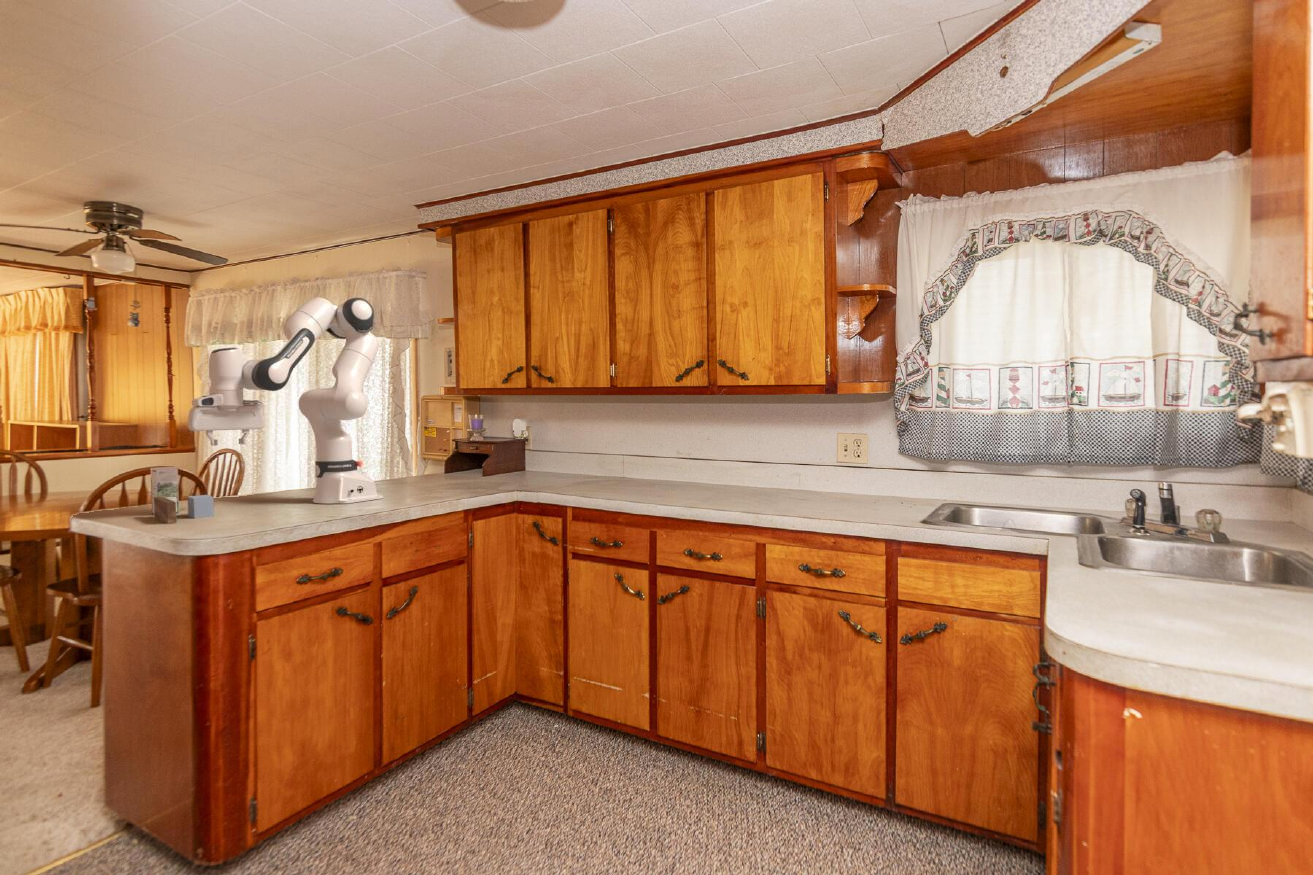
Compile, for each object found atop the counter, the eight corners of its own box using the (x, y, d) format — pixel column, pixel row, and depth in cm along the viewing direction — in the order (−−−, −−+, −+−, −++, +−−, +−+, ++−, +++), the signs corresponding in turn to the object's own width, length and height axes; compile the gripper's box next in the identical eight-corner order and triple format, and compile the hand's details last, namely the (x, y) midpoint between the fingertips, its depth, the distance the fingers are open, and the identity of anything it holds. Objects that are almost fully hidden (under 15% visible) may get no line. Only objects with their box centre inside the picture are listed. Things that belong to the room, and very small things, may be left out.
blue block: (207, 513, 212) (206, 494, 211) (214, 516, 207) (213, 496, 207) (188, 516, 208) (187, 496, 208) (194, 518, 203) (193, 498, 203)
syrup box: (173, 511, 217) (171, 465, 216) (179, 513, 213) (177, 466, 212) (151, 513, 212) (149, 466, 211) (157, 515, 209) (155, 468, 208)
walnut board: (162, 516, 207) (161, 496, 207) (176, 522, 196) (175, 502, 196) (154, 517, 206) (153, 497, 205) (168, 523, 195) (167, 502, 194)
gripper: (260, 400, 221) (261, 442, 222) (185, 400, 206) (187, 446, 207) (267, 400, 217) (268, 443, 218) (191, 400, 202) (193, 447, 203)
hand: (228, 444), depth 212 cm, fingers open, 6 cm apart
